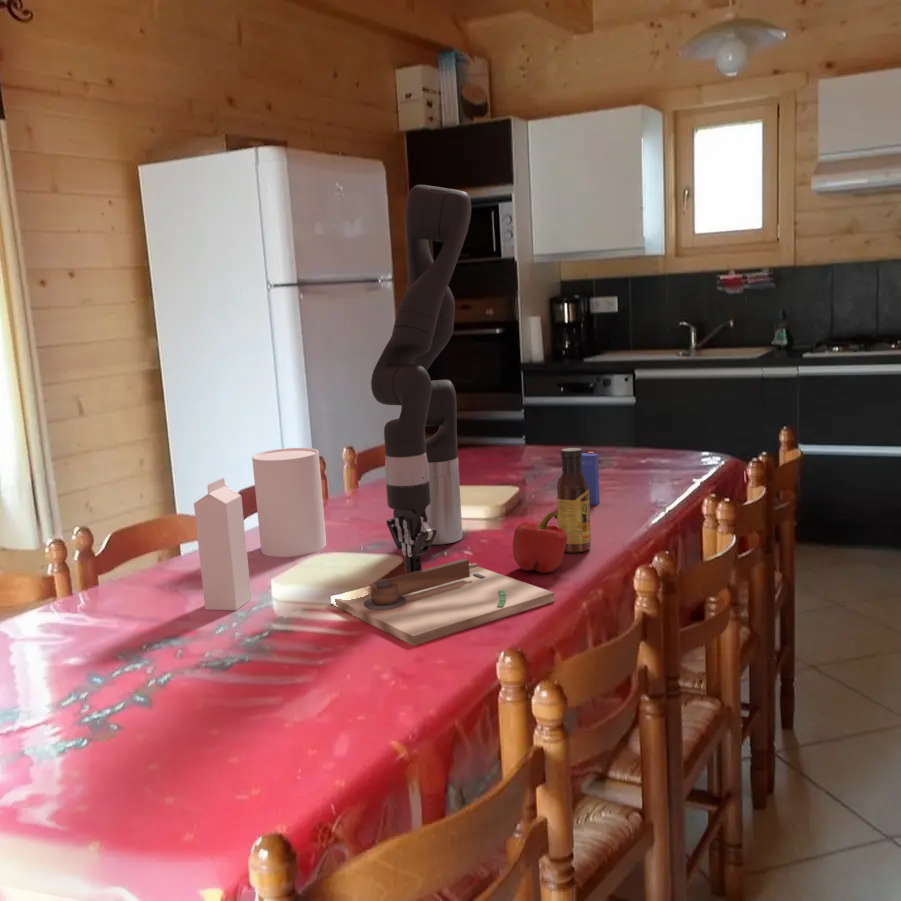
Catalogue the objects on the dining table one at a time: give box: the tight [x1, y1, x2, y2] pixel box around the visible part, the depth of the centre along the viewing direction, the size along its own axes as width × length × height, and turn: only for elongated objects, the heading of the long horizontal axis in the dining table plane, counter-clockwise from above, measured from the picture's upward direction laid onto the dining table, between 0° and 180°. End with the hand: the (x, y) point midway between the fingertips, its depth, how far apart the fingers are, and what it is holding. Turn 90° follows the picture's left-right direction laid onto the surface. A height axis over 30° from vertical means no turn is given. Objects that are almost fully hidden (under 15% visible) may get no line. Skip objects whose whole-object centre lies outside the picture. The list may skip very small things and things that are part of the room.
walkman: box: [581, 451, 601, 506], centre depth 226 cm, size 8×3×12 cm, turn 63°
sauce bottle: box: [556, 447, 592, 554], centre depth 189 cm, size 7×6×20 cm
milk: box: [193, 477, 252, 611], centre depth 168 cm, size 6×6×22 cm
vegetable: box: [512, 511, 567, 574], centre depth 178 cm, size 11×10×10 cm
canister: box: [251, 447, 327, 558], centre depth 202 cm, size 14×14×20 cm
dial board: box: [335, 563, 555, 646], centre depth 164 cm, size 26×28×2 cm
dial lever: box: [370, 558, 478, 604], centre depth 165 cm, size 4×21×3 cm, turn 125°
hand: (414, 575), depth 171 cm, fingers closed
